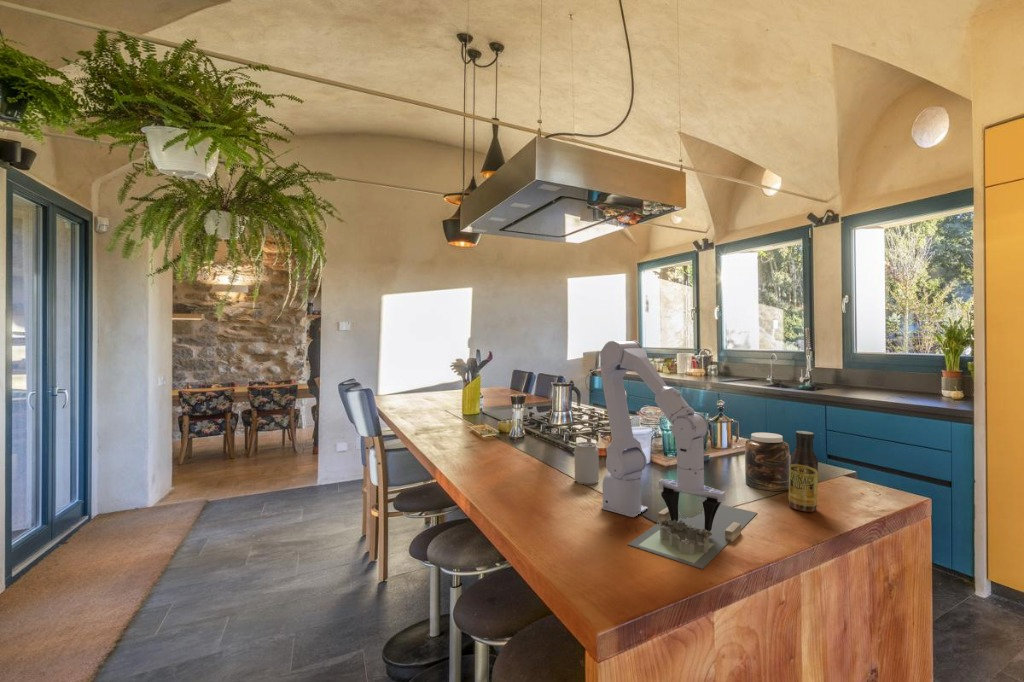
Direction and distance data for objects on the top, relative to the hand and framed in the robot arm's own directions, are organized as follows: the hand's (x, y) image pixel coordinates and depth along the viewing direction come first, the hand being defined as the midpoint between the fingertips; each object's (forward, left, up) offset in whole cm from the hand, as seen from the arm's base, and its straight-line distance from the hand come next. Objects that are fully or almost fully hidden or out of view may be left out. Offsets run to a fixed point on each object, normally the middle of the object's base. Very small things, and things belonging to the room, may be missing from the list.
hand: (691, 526), depth 104 cm
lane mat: (0, +4, -2) cm, 4 cm away
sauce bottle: (+16, +33, -2) cm, 37 cm away
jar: (+4, +48, -2) cm, 48 cm away
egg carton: (+1, -7, -2) cm, 7 cm away
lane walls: (0, +4, -2) cm, 4 cm away
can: (-39, +16, -2) cm, 42 cm away
